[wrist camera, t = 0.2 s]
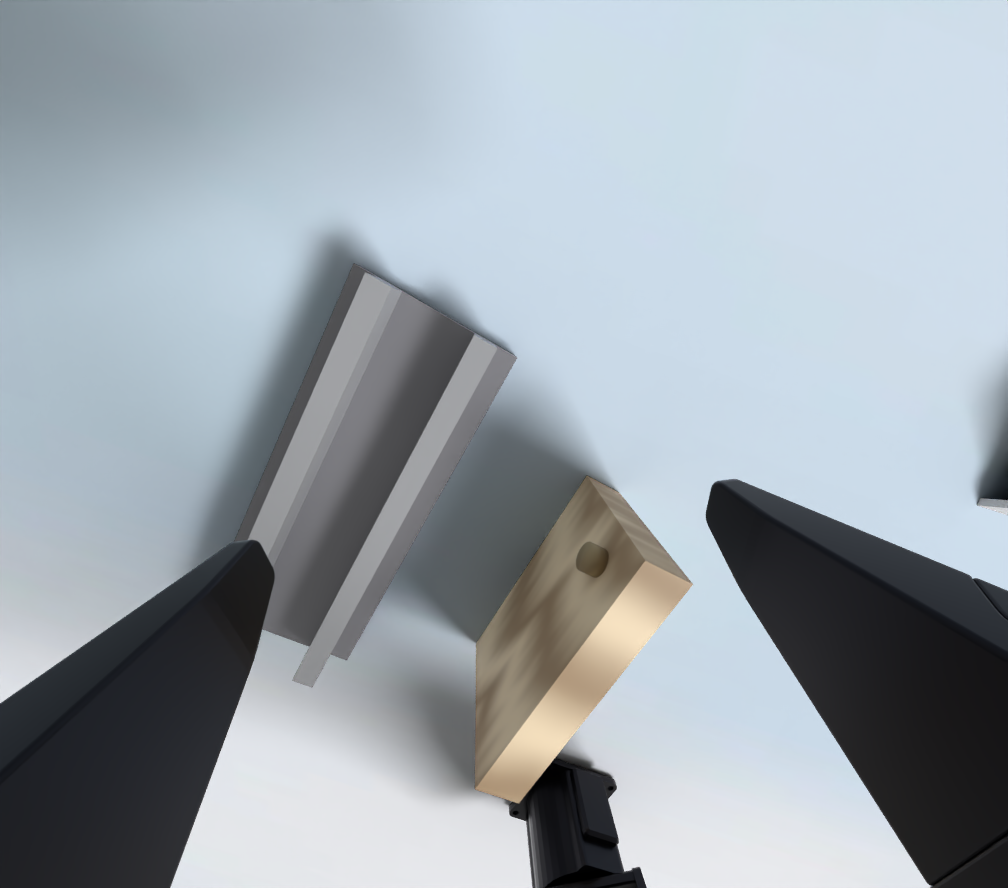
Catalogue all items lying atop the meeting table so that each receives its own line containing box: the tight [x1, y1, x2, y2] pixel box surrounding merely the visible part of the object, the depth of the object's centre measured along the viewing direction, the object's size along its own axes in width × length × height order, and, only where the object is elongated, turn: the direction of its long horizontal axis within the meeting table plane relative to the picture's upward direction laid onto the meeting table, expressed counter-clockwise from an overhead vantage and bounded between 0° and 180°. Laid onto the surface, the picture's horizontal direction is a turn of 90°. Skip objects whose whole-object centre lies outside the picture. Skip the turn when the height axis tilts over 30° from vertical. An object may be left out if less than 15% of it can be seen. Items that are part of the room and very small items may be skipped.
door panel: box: [475, 476, 693, 803], centre depth 22 cm, size 14×3×9 cm, turn 150°
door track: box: [234, 264, 517, 687], centre depth 22 cm, size 22×9×4 cm, turn 150°
